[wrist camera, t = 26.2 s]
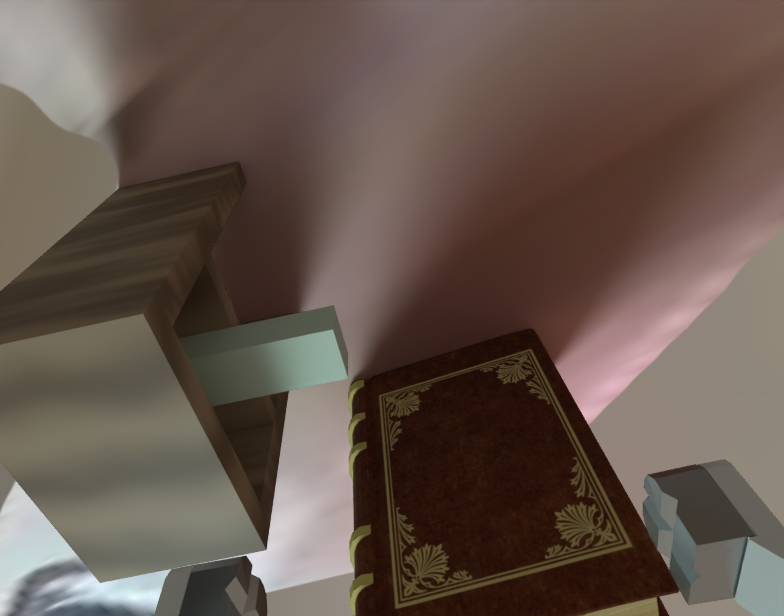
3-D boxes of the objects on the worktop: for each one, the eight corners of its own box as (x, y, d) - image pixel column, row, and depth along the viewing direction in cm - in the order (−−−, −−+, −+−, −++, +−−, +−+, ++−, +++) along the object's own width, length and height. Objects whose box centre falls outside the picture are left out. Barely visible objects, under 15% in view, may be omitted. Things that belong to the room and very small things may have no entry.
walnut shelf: (118, 188, 48) (-82, 362, 25) (238, 161, 47) (143, 313, 25) (196, 350, 57) (100, 582, 34) (297, 328, 56) (266, 549, 34)
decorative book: (363, 433, 65) (375, 727, 39) (339, 385, 61) (335, 676, 35) (545, 378, 62) (686, 650, 37) (532, 324, 58) (680, 587, 33)
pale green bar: (65, 362, 37) (44, 390, 34) (333, 305, 36) (332, 329, 34) (93, 405, 39) (75, 434, 36) (347, 352, 38) (348, 378, 36)
